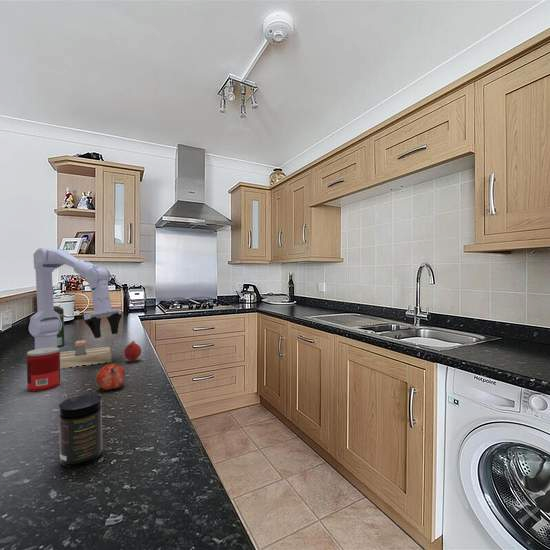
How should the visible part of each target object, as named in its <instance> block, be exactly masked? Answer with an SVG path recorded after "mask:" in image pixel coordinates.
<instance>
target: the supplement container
mask: <svg viewBox="0 0 550 550" xmlns="http://www.w3.org/2000/svg"><path fill="white" fill-rule="evenodd" d="M58 420H59V421H58V422H59V423H58V424H59V425H58V426H59V463H60V464H61V465H62V466H63V467H65V466H66V468H77V467H76V466H79V467H82V466H81V465H83V466H85V464H86V465H88V464H90V463H92V462H94V461H95V460H97V459H98V458H99V457H100V455H101V454H102V452H103V397H102V396H101V395H99V394H82V395H77V396H73V397H71V398H68V399H66V400H64V401H62V402H61V403H59V405H58ZM97 457H98V458H97ZM93 460H94V461H93ZM89 462H90V463H89ZM87 463H88V464H87Z"/></svg>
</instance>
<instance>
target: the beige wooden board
mask: <svg viewBox="0 0 550 550" xmlns="http://www.w3.org/2000/svg"><path fill="white" fill-rule="evenodd" d="M105 362H107V363H111V362H112V351H111V349H110V346H104V347H103V346H101V347H93V348H85V355H80V356H76V350H69V351H60V370H62V369H63V368H65V369H70V368H69V367H72V368H77V367H76V366H79V367H83V366H82V365H86V366H92V365H91V364H93V365H99V364H98V363H100V364H105ZM63 370H64V369H63Z"/></svg>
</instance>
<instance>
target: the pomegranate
mask: <svg viewBox="0 0 550 550" xmlns="http://www.w3.org/2000/svg"><path fill="white" fill-rule="evenodd" d="M125 375H126V374H125V369H124V367H123V366H121V365H117V364H114V363H108V364H106V365H104V366H102V368H101V369H100V370H99V371H98V372H97V374H96V382H97V383H98V386H99V388H101V389H102V390H106V391H109V389H110V390H112V389H113V390H114V389H117V388H120V387H122V385H123V384H124V382H125Z"/></svg>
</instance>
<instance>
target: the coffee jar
mask: <svg viewBox="0 0 550 550" xmlns="http://www.w3.org/2000/svg"><path fill="white" fill-rule="evenodd" d="M54 311H55V312H57V313H58V314H59V315H60V320H61V322H62V328H61V330H60V331H59V334H57V348H59V347H62V346H64V345H65V319H64V318H65V315H64V313H65V312H64V308H62V307H61V306H57V305H54ZM44 319H49V318H44Z"/></svg>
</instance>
